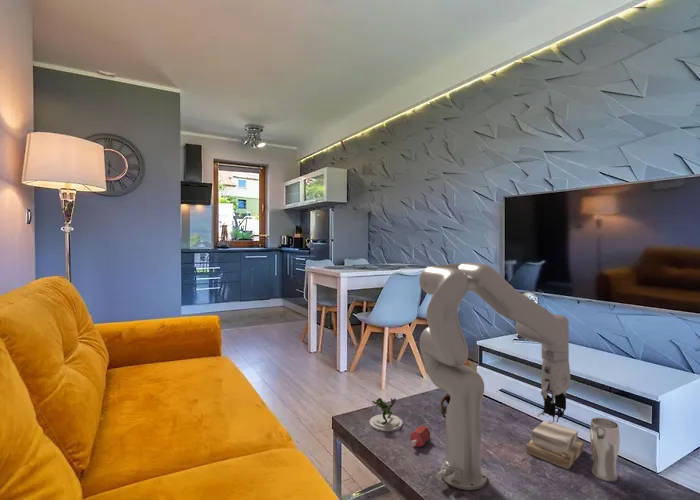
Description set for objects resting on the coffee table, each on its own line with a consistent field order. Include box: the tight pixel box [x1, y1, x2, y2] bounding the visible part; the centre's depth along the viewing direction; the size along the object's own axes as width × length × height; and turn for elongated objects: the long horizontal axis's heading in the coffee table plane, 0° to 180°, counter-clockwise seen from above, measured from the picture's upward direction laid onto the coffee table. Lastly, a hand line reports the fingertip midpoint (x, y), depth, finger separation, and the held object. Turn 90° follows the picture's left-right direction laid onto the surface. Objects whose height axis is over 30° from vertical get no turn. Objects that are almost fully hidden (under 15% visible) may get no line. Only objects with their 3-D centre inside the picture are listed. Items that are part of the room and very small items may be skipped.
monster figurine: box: [369, 397, 403, 433], centre depth 141 cm, size 12×12×10 cm
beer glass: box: [589, 417, 621, 482], centre depth 109 cm, size 7×7×15 cm
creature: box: [537, 401, 567, 424], centre depth 121 cm, size 8×5×8 cm
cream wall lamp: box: [525, 420, 584, 470], centre depth 121 cm, size 14×12×7 cm
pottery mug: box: [440, 393, 450, 415], centre depth 150 cm, size 12×10×8 cm
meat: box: [410, 425, 431, 448], centre depth 128 cm, size 12×5×5 cm, turn 145°
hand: (555, 410), depth 121 cm, fingers closed on creature, 6 cm apart
